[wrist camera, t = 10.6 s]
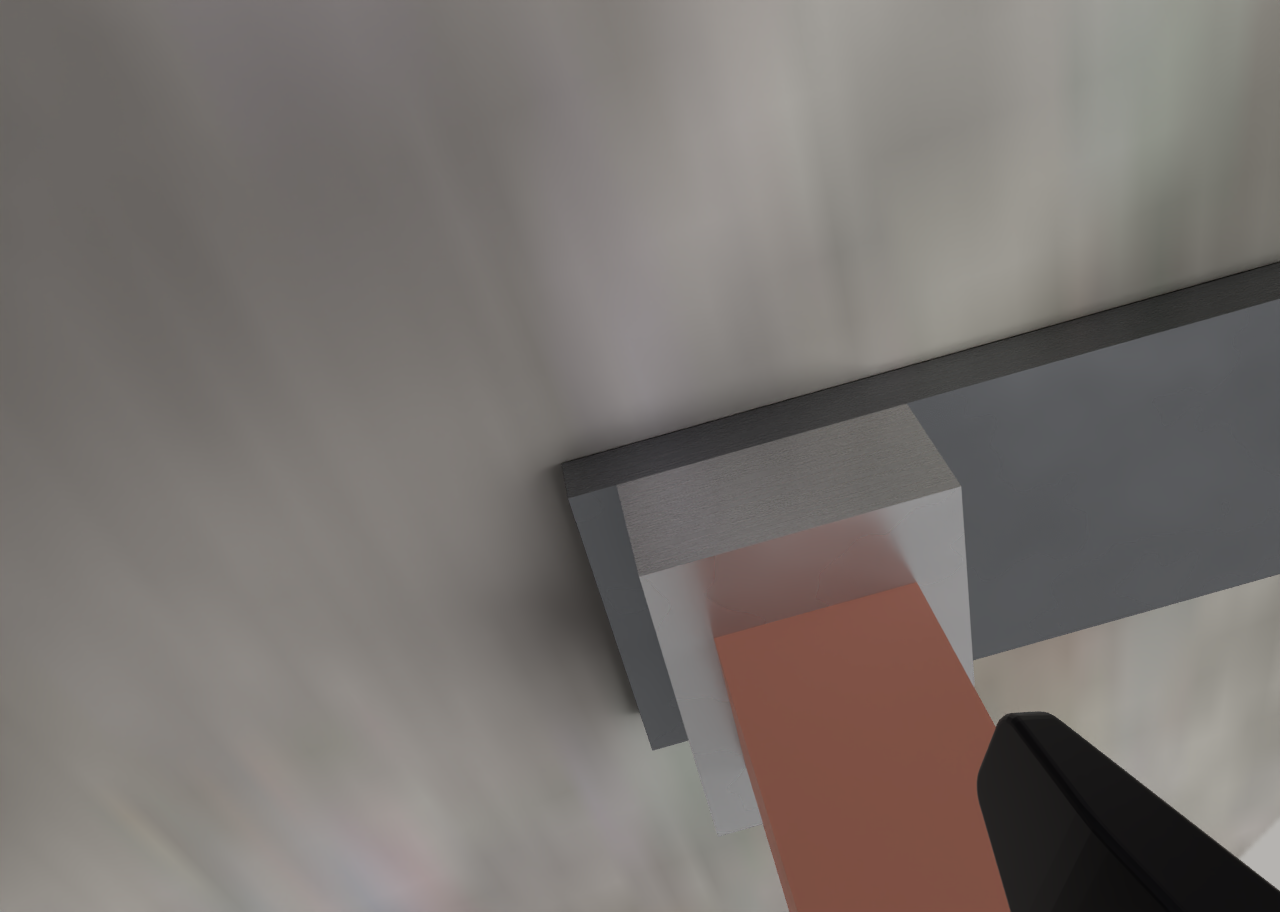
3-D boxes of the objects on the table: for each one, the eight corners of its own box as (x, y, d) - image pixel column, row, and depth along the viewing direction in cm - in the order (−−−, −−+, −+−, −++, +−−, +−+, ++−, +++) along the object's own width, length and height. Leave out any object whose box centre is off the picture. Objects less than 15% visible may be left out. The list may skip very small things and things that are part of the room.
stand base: (644, 712, 28) (674, 849, 25) (561, 464, 24) (585, 591, 21) (1263, 539, 29) (1371, 652, 25) (1303, 255, 24) (1442, 351, 21)
